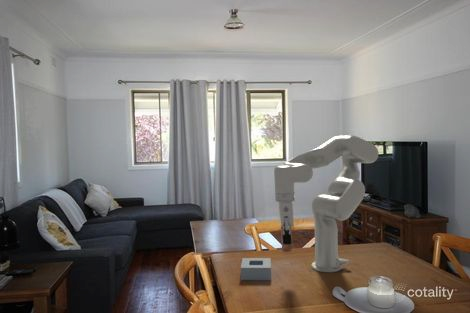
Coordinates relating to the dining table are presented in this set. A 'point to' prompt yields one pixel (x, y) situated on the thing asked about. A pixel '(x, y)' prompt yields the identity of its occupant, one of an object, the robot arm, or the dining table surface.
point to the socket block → (256, 269)
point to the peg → (287, 246)
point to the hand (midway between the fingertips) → (286, 241)
